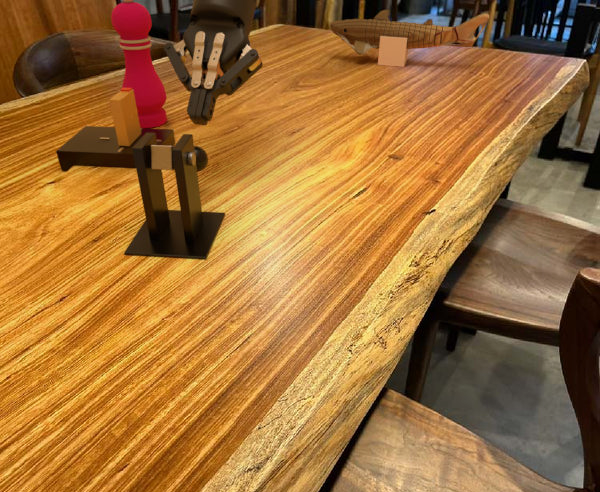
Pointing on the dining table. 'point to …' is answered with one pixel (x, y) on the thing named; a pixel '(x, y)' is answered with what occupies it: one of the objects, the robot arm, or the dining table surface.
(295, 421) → the dining table surface
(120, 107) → the block
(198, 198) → the bracket
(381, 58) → the wood carving
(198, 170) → the latch lever
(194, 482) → the dining table surface
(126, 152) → the plate
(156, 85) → the pepper mill
